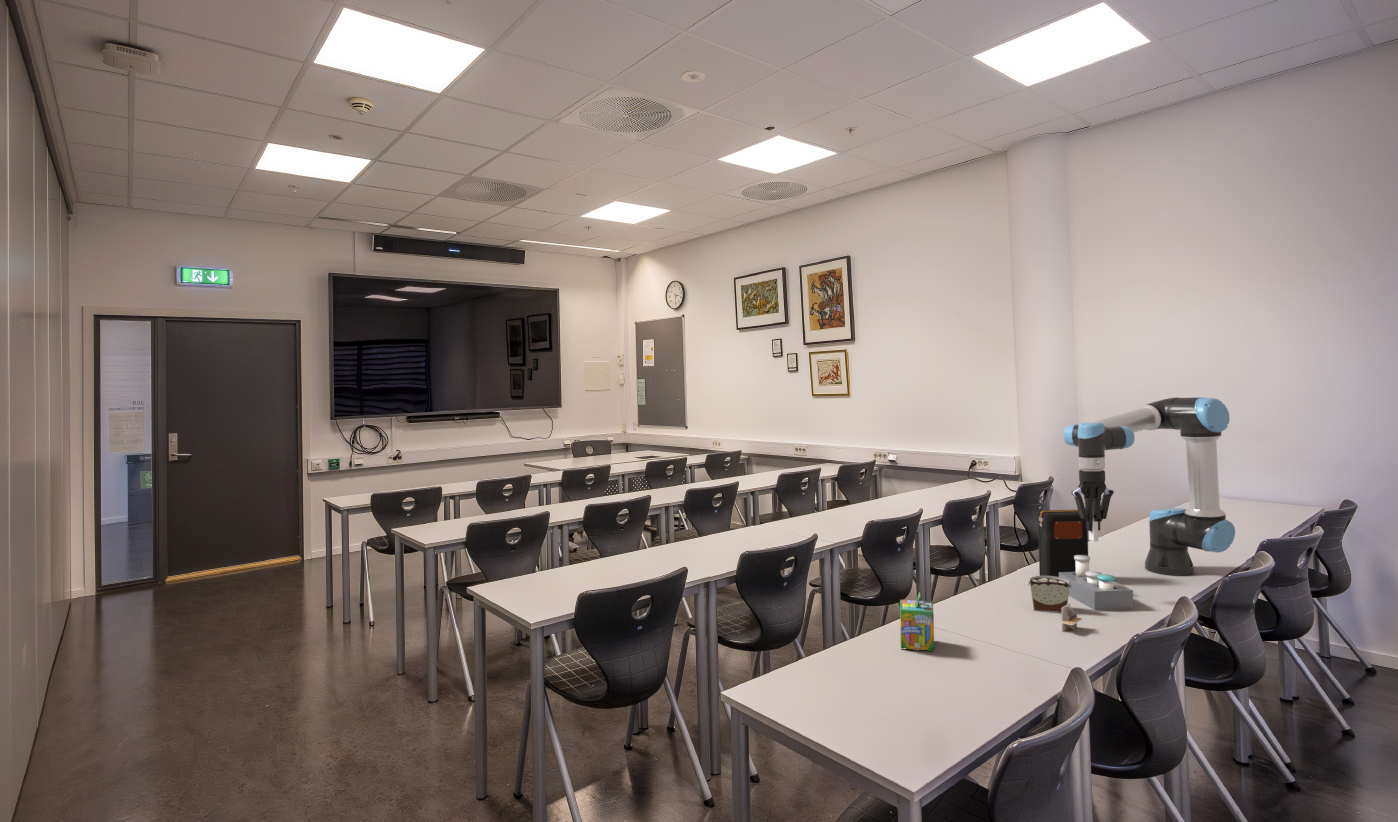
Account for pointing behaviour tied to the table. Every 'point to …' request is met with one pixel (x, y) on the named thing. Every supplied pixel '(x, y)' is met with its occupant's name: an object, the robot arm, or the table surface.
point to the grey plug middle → (1092, 576)
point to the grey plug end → (1081, 565)
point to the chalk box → (917, 624)
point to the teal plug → (1106, 581)
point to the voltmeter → (1060, 541)
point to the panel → (1098, 593)
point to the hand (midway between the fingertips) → (1093, 540)
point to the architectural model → (1069, 618)
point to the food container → (1049, 593)
